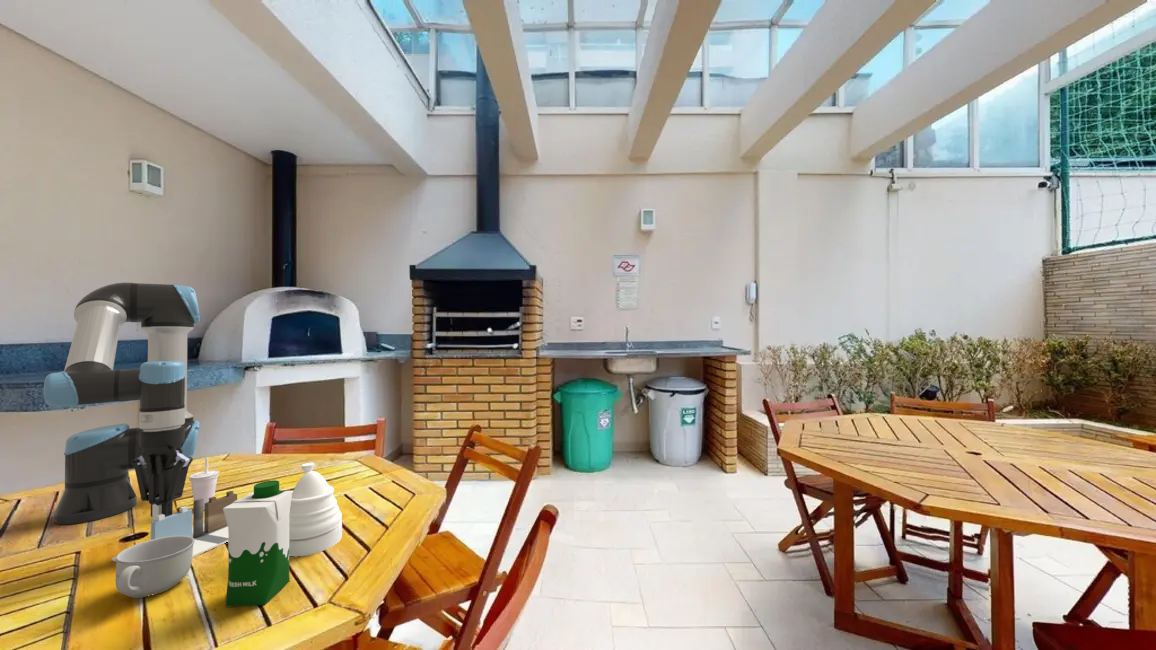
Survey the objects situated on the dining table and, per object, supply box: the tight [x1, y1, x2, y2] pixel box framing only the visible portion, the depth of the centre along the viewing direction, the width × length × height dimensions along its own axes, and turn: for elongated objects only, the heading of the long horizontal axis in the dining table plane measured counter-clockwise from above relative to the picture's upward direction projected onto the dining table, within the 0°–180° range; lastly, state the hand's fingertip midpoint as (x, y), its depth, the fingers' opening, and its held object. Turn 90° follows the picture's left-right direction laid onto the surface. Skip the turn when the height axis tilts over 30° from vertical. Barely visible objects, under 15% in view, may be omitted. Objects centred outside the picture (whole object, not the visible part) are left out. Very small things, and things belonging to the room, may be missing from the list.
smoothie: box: [188, 457, 220, 511], centre depth 119 cm, size 6×6×14 cm
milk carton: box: [223, 479, 293, 607], centre depth 79 cm, size 9×9×20 cm
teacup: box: [114, 536, 195, 599], centre depth 80 cm, size 14×11×8 cm
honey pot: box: [289, 462, 343, 558], centre depth 99 cm, size 13×13×18 cm
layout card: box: [111, 522, 228, 563], centre depth 99 cm, size 16×21×1 cm
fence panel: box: [150, 506, 193, 540], centre depth 96 cm, size 1×7×8 cm, turn 164°
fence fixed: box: [192, 490, 238, 538], centre depth 104 cm, size 2×9×9 cm, turn 163°
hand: (161, 530), depth 96 cm, fingers closed
